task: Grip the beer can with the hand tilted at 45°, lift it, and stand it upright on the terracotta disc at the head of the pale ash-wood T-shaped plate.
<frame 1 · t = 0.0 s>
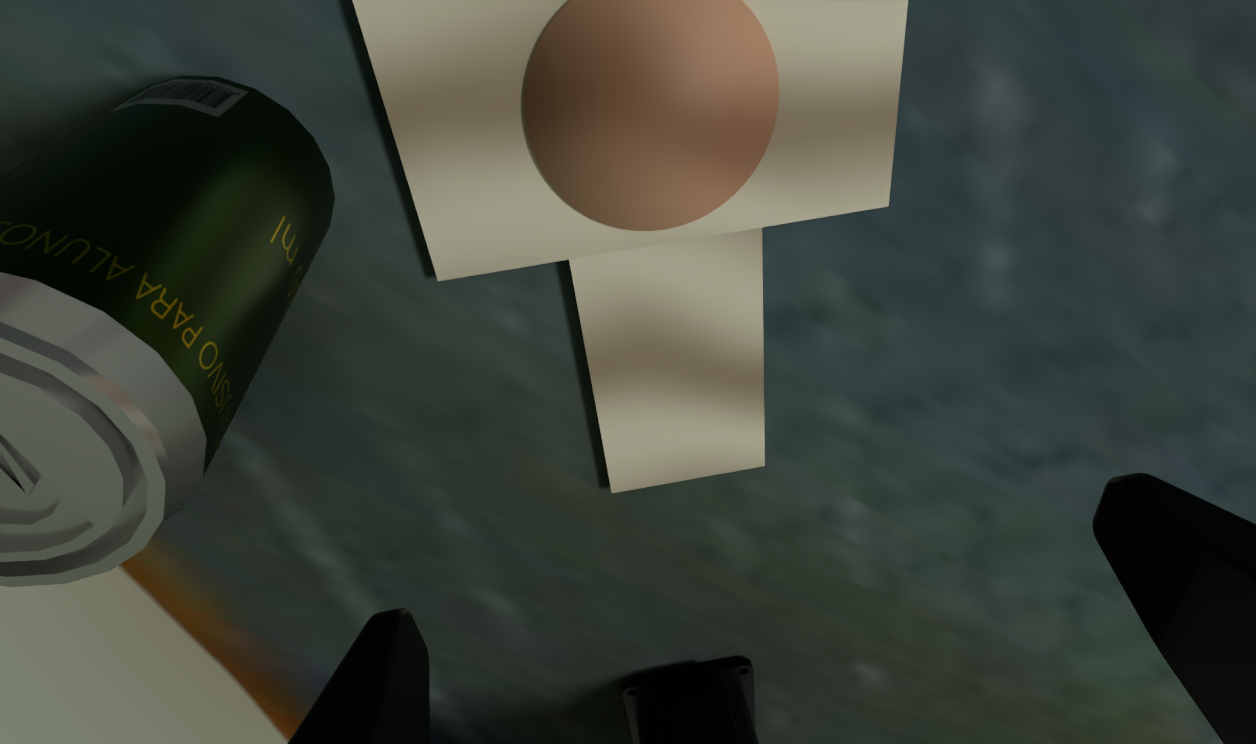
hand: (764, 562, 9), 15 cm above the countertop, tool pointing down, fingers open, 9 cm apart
t plate: (663, 237, 23), on the countertop
beer can: (237, 169, 20), on the countertop
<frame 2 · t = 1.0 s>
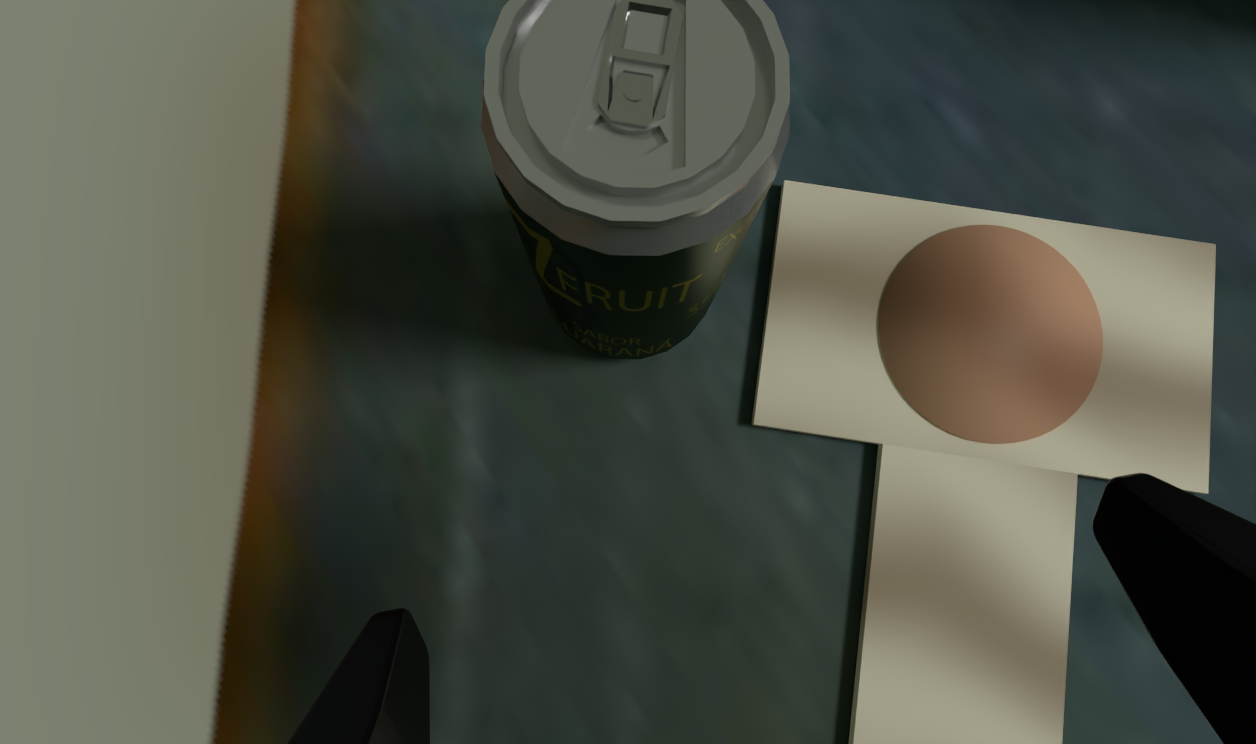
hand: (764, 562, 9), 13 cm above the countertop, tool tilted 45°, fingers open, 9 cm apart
t plate: (973, 459, 23), on the countertop
beer can: (628, 282, 24), on the countertop
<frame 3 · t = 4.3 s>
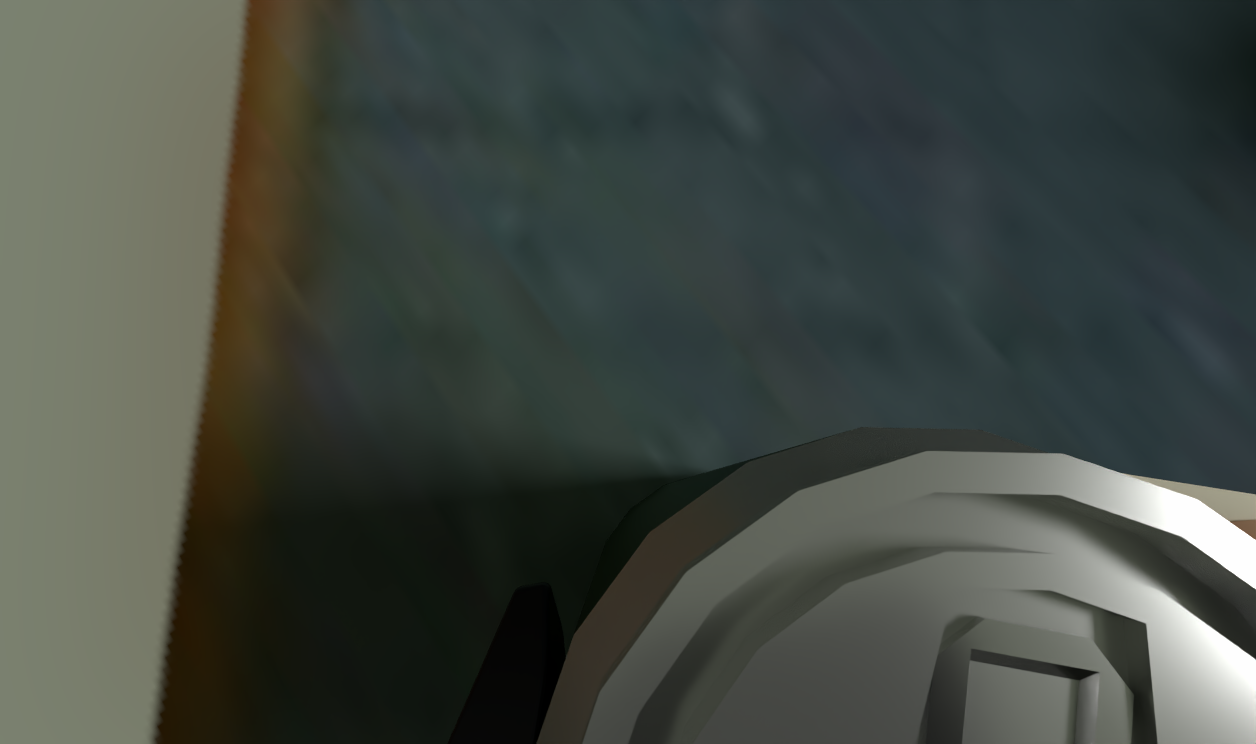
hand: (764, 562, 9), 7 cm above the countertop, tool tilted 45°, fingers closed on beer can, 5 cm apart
beer can: (716, 599, 16), on the countertop, touching gripper
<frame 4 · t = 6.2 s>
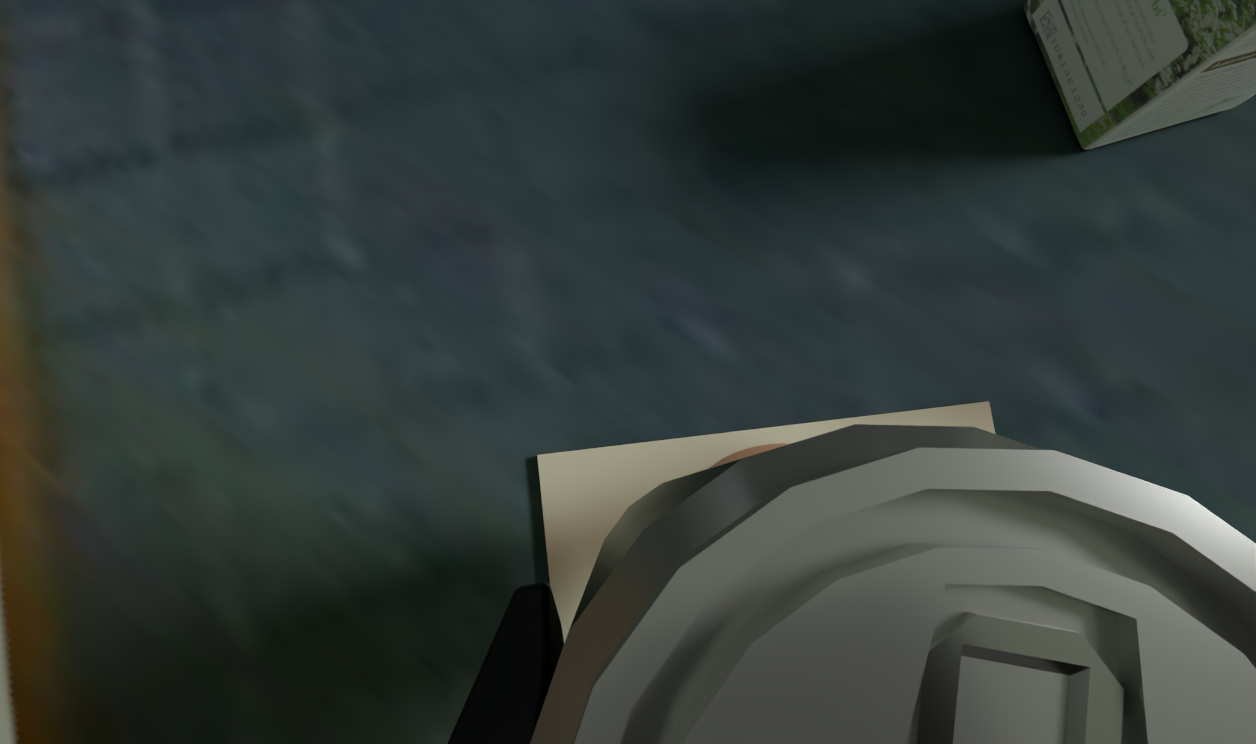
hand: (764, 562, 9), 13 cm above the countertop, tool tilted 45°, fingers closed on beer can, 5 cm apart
t plate: (802, 698, 22), on the countertop
syrup box: (1117, 63, 25), on the countertop
beer can: (714, 597, 16), point 6 cm above the countertop, touching gripper
when the fingers open (8 cm above the countertop, at t = 8.6 s): beer can stays where it is, resting on t plate.
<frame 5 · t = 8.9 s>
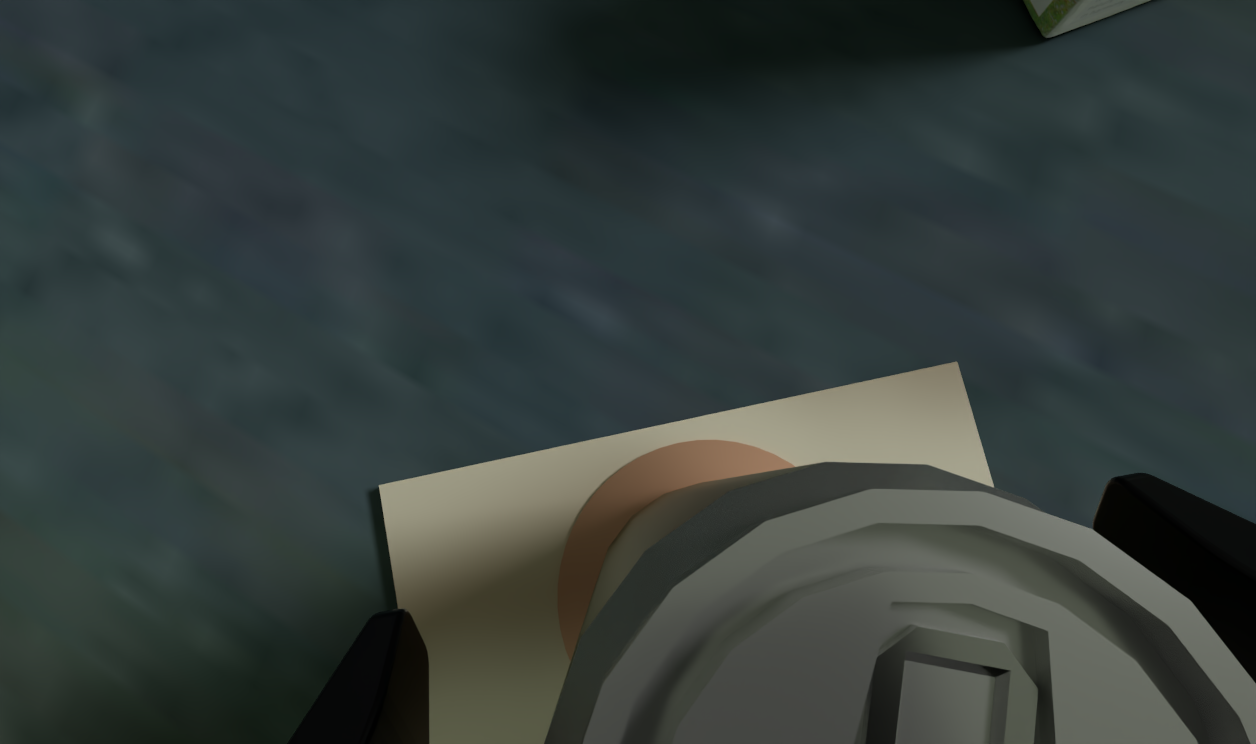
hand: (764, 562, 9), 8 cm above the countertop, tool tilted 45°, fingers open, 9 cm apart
beer can: (712, 601, 17), resting on t plate
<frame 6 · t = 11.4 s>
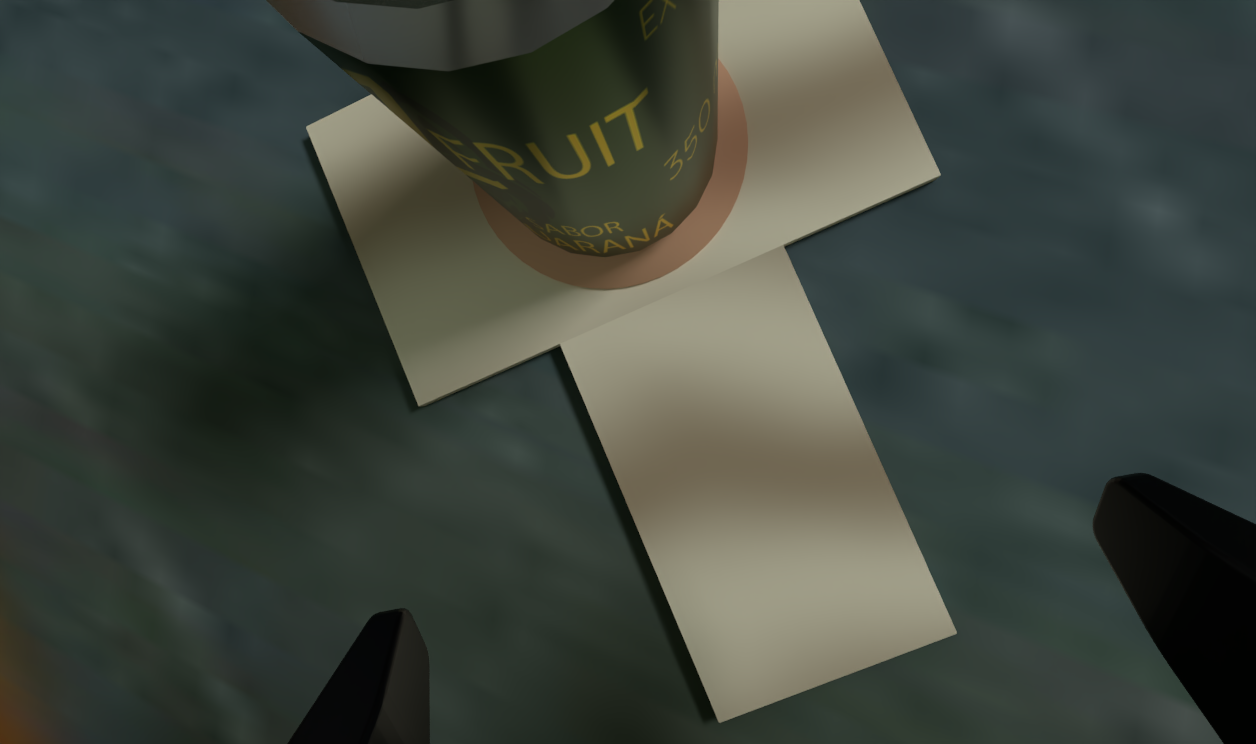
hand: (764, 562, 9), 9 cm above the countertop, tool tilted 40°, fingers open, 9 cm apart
t plate: (670, 297, 18), on the countertop
beer can: (609, 157, 18), resting on t plate
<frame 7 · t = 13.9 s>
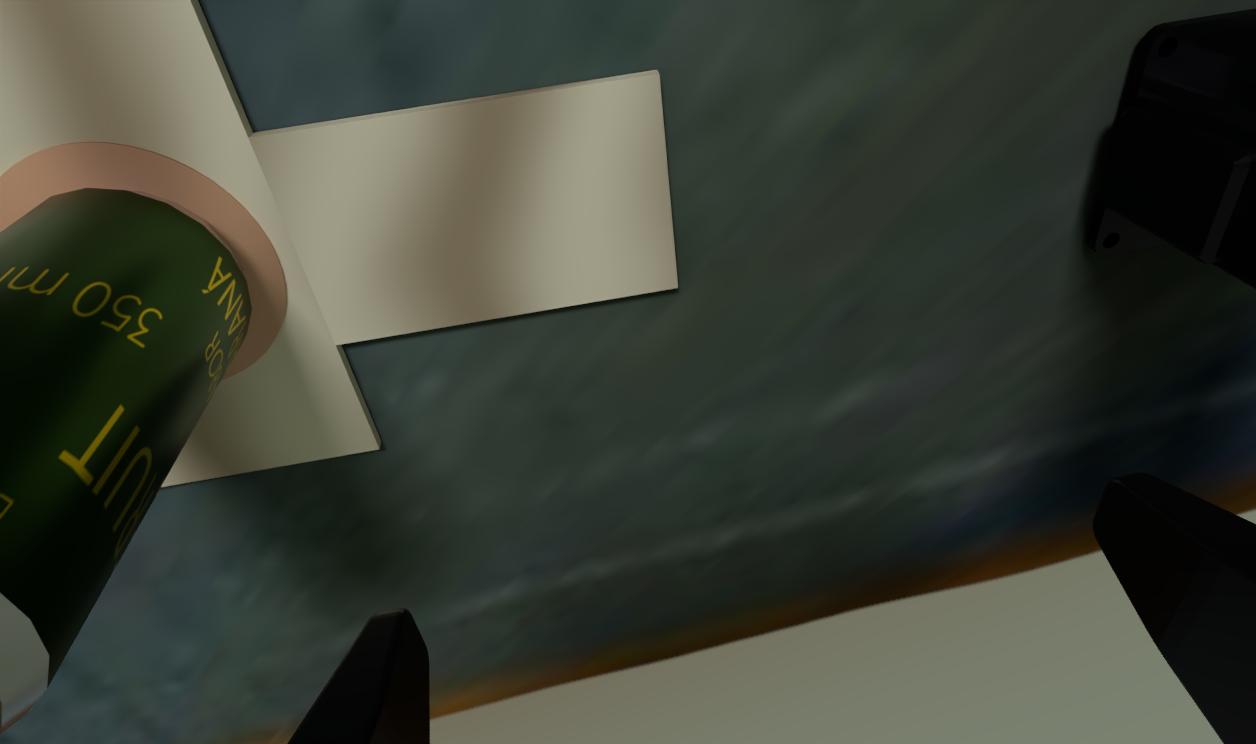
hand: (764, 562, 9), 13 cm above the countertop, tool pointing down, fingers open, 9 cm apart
t plate: (299, 244, 20), on the countertop
beer can: (151, 273, 19), resting on t plate
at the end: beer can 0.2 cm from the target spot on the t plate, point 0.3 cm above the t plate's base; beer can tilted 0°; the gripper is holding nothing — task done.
